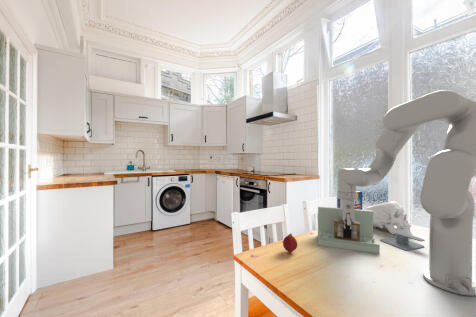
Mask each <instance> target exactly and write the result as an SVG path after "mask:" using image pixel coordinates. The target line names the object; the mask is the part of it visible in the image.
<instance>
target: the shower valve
mask: <svg viewBox="0 0 476 317" xmlns="http://www.w3.org/2000/svg"><path fill="white" fill-rule="evenodd" d="M409 239H411V240H409ZM412 240H415V241H417V242H425V241H426V240H425V239H423V238H421V237H418V236H415V235H413V234H412V235H410V234H407V233H403V232H396V234H395V236H391V237H384V238H380V239H379V241H380V242H382V243H384V244H388V245H389V246H392V247H394V248H397V249H399V250H403V251H407V252H409V251H414V250H418V249H424V248H425V246H424V245H423V244H420V243H417V242H415V241H412Z"/></svg>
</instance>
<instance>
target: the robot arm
mask: <svg viewBox="0 0 476 317" xmlns="http://www.w3.org/2000/svg"><path fill="white" fill-rule="evenodd" d="M436 120H437V121H441V122H445V123H447V125H448V129H447V132H446V135H445V139H444V145H443V148H442V150H441V151H439V152H436V153H435V154H434V155H432V157H430V160H429V161H428V163H427V165H426V169H425V174H424V178H423V183H422V186H421V191H420V199H419V200H420V201H419V202H420V205H421V207H422V209H424V211H425V212H426V213H427V214H428V215H430V217H429V235H428V237H429V239H428V240H429V244H428V245H429V250H428V251H429V257H428V258H429V264H428V265H429V266H428V268H429V269H425V270H424V271H422V272H423V273H422V276H423V279H424V280H426V281H427V282H428V283H429V284H431V285H433V286H435V287H437V288H439V289H441V290H444V291H447V292H449V293H452V294H455V295H456V294H457V295H460V296H461V295H462V296H468V297H470V296H471V297H474V296H476V283H475V282H473V228H474V227H473V225H474V214H475V200H474V196H473V195H472V193H471V192H470V190H469V189H470V184H471V182H472V179H473V178H475V177H476V101H474V100H472V99H469V98H468V97H467V98H466V97H464V96H463V95H461V94H459V93H458V92H456V91H453V90H448V89H441V90H436V91H432V92H430V93H428V94H425V95H422V96H419V97H417V98H415V99H412V100H409V101H407V102H403V103H402V104H398V105H397V106H394V107H392V108H391V109H389V110H388V111H387V112H386V113H385V114H384V116H383V118H382V124H383V126H384V127H385V128H384V129H383V131H382V133H380V135H379V137H378V138H377V139H376V141H375V142H374V150H375V151H376V152H375V156H374V159H372V160H373V161H372V162H371V163H370V164H369V166H368V167H367V168H363V167H362V168H353V167H352V168H350V167H348V168H347V167H346V168H345V167H340V168H339V169H337V191H338V199H340V212H341V218H342V221H343V222H344V228H343V237H344V238H351V221H352V222H353V223H355V206H354V200H356V191H357V187H361V188H364V187H369V186H375V185H377V184H379V183H381V182H382V181H383V179H385V177H386V176H387V175H388V174H389V172H390V171H391V170H392V168H393V165H394V164H395V161H396V159H397V156H398V154H399V153H400V151H401V150H403V148H404V147H405V145H406V144H407V143H408V141H409V140H410V139H411V138H412V136H413V135H414V134H415V132H416V131H418V129H419V128H420V127H421V125H422V124H423V125H424V124H426V123H427V124H428V123H430V122H433V121H436ZM345 220H347V222H346V221H345ZM345 223H347V224H345Z"/></svg>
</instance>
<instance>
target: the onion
mask: <svg viewBox="0 0 476 317" xmlns="http://www.w3.org/2000/svg"><path fill="white" fill-rule="evenodd" d="M282 245H283V248H284V250H286V252H288V253H293V252H294V251H296V250H297V248H298V241H297V238H295V237H294V236H293V234H292V233H289V234H287V235H286V236H285V237H284V239H283V241H282Z"/></svg>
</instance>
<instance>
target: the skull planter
mask: <svg viewBox="0 0 476 317" xmlns="http://www.w3.org/2000/svg"><path fill="white" fill-rule="evenodd" d="M365 210H369V211H373V227H375V228H376V229H377V228H378V229H383V228H384V229H387V230H388V232H389V233H390V234H391V235H396V232H403V233H407V234H410V235H412V236H413V232H412V231H411V228H412V225H411V224H410V223H409V220H407V216H408V215H407V214H406V213H405V210H404V207H403V206H401V205H400V203H399V202H397V201H395V200H393V201H391V200H390V201H387V202H381V203H378V204H374V205H370V206H367V207H365Z"/></svg>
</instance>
